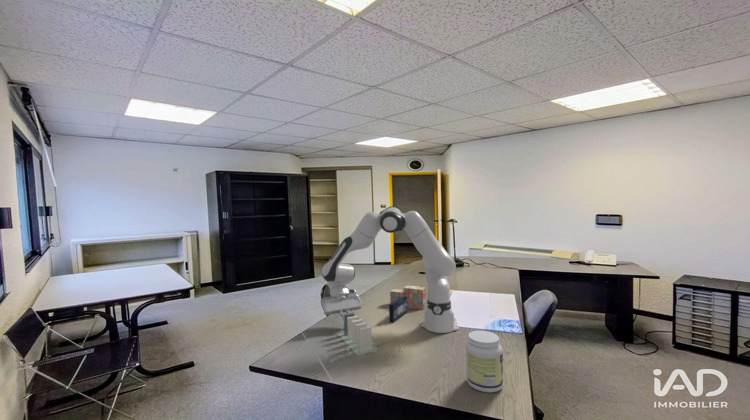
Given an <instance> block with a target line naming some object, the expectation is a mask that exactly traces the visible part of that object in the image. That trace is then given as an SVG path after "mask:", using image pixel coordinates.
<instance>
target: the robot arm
mask: <svg viewBox="0 0 750 420" xmlns="http://www.w3.org/2000/svg"><path fill="white" fill-rule="evenodd" d="M381 230H382V231H384V232H385V233H388V234H392V233H396V232H401V231H403V230H404V231H405V233H406V234H407V236H408V237H409V239H410V241H411V242H412V243H413V245H414V247H415V248H416V250H417V251H418V252H419V254H420V255H421V256H422V263H423V265H424V271H425V272H424V273H425V278H426V282H427V301H426V307H427V308H426V309H424V316H423V319H424V321H423V322H422V323H421V325H420V327H422V328H425V330H427V331H429V332H432V333H437V334H446V333H451V332H454V331H459V325H458V322H457V319H456V318H455V313H454V310H452V302H451V299H450V298H451V290H450V289H451V287H450V283H449V281H448V277H449V276H451V275H453V274H454V273H455V271H456V268H457V267H456V261H455V259H453V258H452V256H451V255H450V254H449V253H448V252H447V250H446V249H445V247H444V246H443V245H442V244H441V242H439V240H438V239H437V238H436V236H435V235H434V232H432V230H431V229H430V226H429V225H428V224H427V222H426V221H425V219H424V218H423V217H422V216H421V214H420V213H418V212H417V211H416V210H410V211H407V212H405V213H403V211H402V210H401V209H400V208H399V207H397V206H393V205H392V206H388V207H386V208H384V209H382V210H381V211H380V212H379V213H377V212H374V211H368V212H366V213H365V215H364V216H363V217H362V218H361V220H360V221H359V222H358V225H357V227H356V228H355V230H354V231H353V232H352V233H351V234H350V235H348V236H347V237H345V238H344V239H343V240H342V242H341V243H340V244H339V245H338V247H337V248H336V249H335V251H333V254H332V255H331V257H330V258H329V259H328V260H327V261H325V263H324V264H323V266H322V268H321V277H322V278H323V279H324V281H326V282H327V286H328V288H329V294H330V296H327V297H326V296H324V297H323V298H321V301H320V302H321V304H322V310H323V314H324V315H325V316H330V315H335V314H336V315H337V314H339V316H340V317H341V318H342V321H344V313H345V314H348V313H351V312H353V311H358V310H361V309H362V307H363V303H362V299H361V298H360V296H359V295H358V294H357V290H356V289H354V288H348V287H346V285H348V284H349V283H351V282H352V281H353V280H354V279H355V277H356V270H355V268H354V266H353V265H352V264H349V263H342V262H343V260H344V259H345V258H346V256H347V255H348V254H349V253H351V252H354V251H357V250H364V249H368V248H369V247H370V246H371V245H372V244H373V243H374V241H375V240H376V238H377V236H378V234H379V232H380V231H381Z"/></svg>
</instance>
